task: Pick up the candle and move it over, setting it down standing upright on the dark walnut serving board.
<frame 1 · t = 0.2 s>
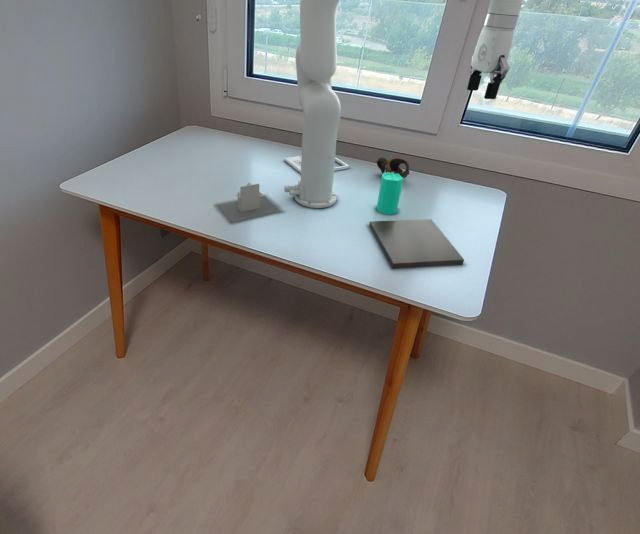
hand: (480, 94, 113), 31 cm above the table, tool pointing down, fingers open, 9 cm apart
serving board: (413, 244, 105), on the table
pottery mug: (390, 178, 140), on the table
candle: (386, 210, 120), on the table
architectural model: (249, 209, 115), on the table
photo frame: (316, 164, 145), on the table
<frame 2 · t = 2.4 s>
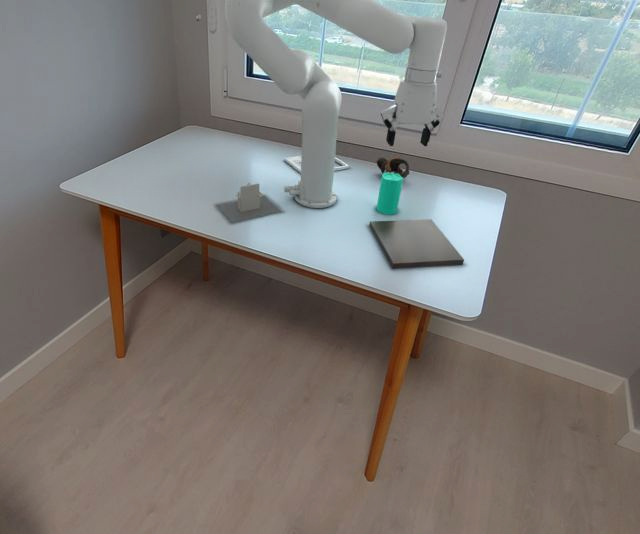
hand: (406, 144, 110), 19 cm above the table, tool pointing down, fingers open, 9 cm apart
nothing on the table moved.
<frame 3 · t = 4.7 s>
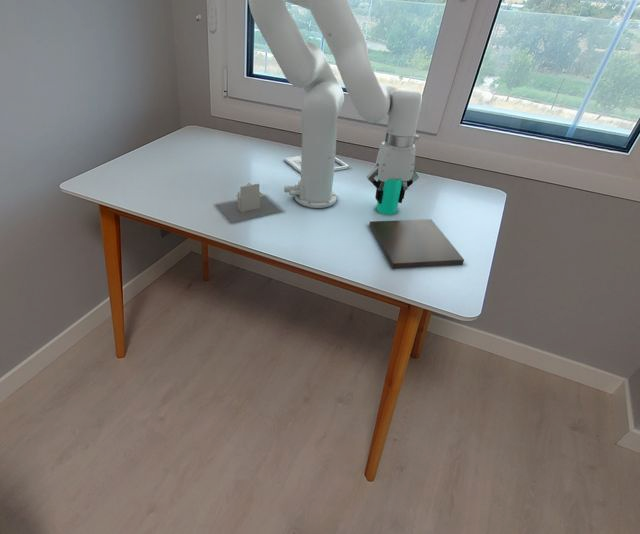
hand: (388, 200, 118), 3 cm above the table, tool pointing down, fingers closed on candle, 5 cm apart
candle: (386, 210, 120), on the table, touching gripper
everything else where it was.
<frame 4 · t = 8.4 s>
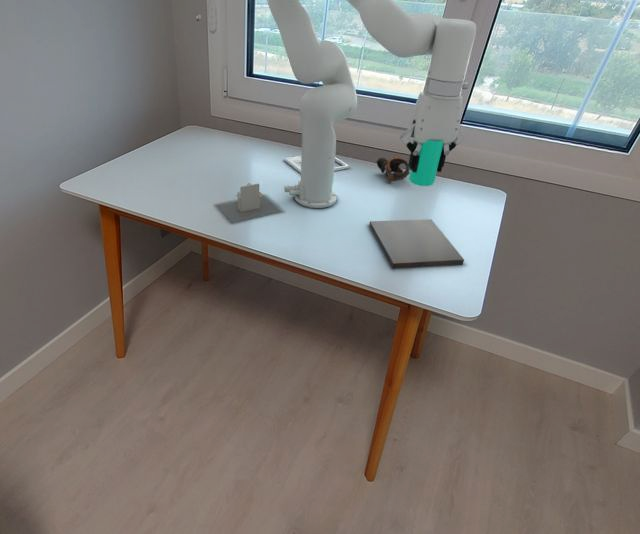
hand: (425, 169, 95), 19 cm above the table, tool pointing down, fingers closed on candle, 5 cm apart
candle: (421, 181, 97), point 16 cm above the table, touching gripper
everything else where it was.
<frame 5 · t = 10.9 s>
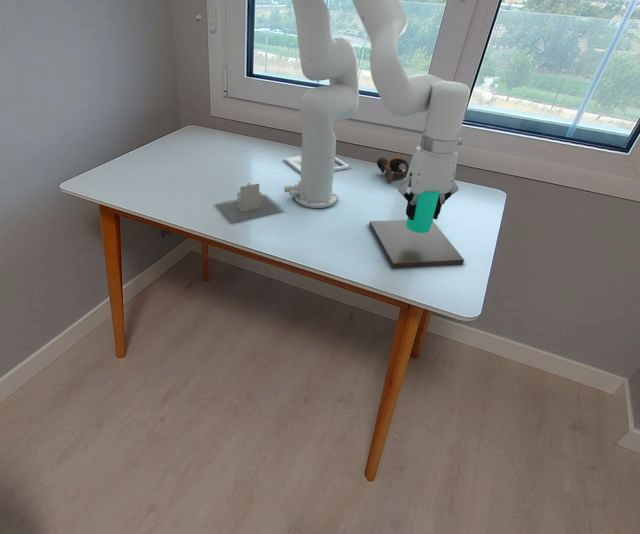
hand: (421, 216, 99), 9 cm above the table, tool pointing down, fingers closed on candle, 5 cm apart
candle: (418, 227, 101), point 6 cm above the table, touching gripper
everything else where it was.
when the fingers open (4 cm above the table, at t = 12.4 s): candle stays where it is, resting on serving board.
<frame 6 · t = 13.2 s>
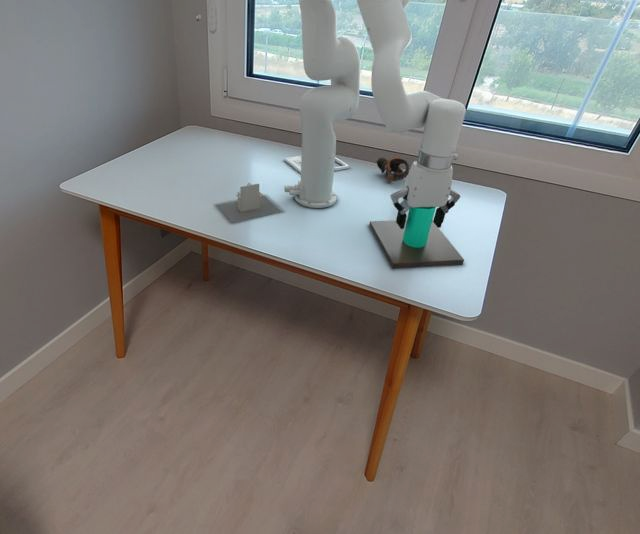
hand: (418, 225, 101), 6 cm above the table, tool pointing down, fingers open, 9 cm apart
candle: (414, 241, 103), point 1 cm above the table, touching serving board
everything else where it was.
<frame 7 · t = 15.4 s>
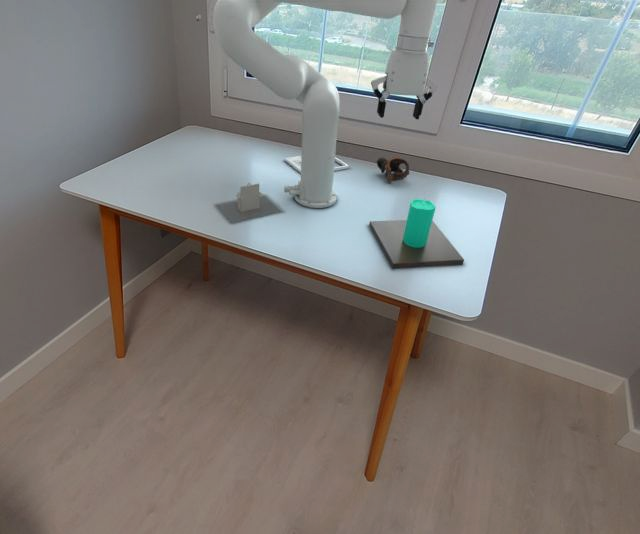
hand: (398, 117, 108), 26 cm above the table, tool pointing down, fingers open, 9 cm apart
nothing on the table moved.
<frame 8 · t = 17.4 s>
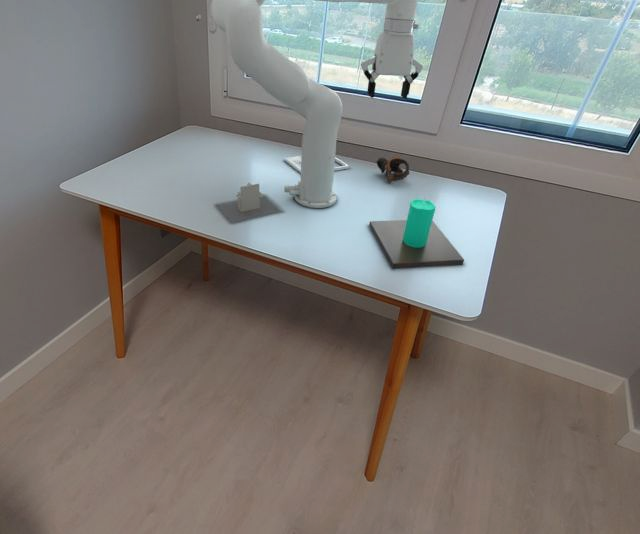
hand: (387, 97, 114), 28 cm above the table, tool pointing down, fingers open, 9 cm apart
nothing on the table moved.
at the end: candle inside the target area on the serving board (0.9 cm from its centre), point 1.3 cm above the serving board's base; candle tilted 0°; the gripper is holding nothing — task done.
